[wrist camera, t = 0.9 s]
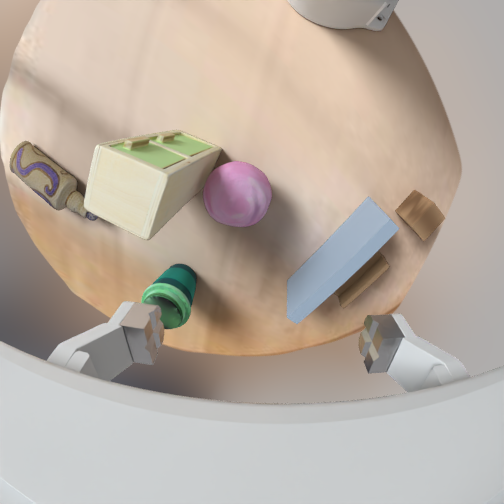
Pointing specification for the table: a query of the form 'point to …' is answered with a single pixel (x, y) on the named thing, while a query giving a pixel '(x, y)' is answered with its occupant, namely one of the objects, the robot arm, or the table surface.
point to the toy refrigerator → (147, 179)
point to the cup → (173, 295)
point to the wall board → (342, 262)
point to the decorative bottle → (47, 179)
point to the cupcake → (237, 194)
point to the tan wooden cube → (420, 214)
